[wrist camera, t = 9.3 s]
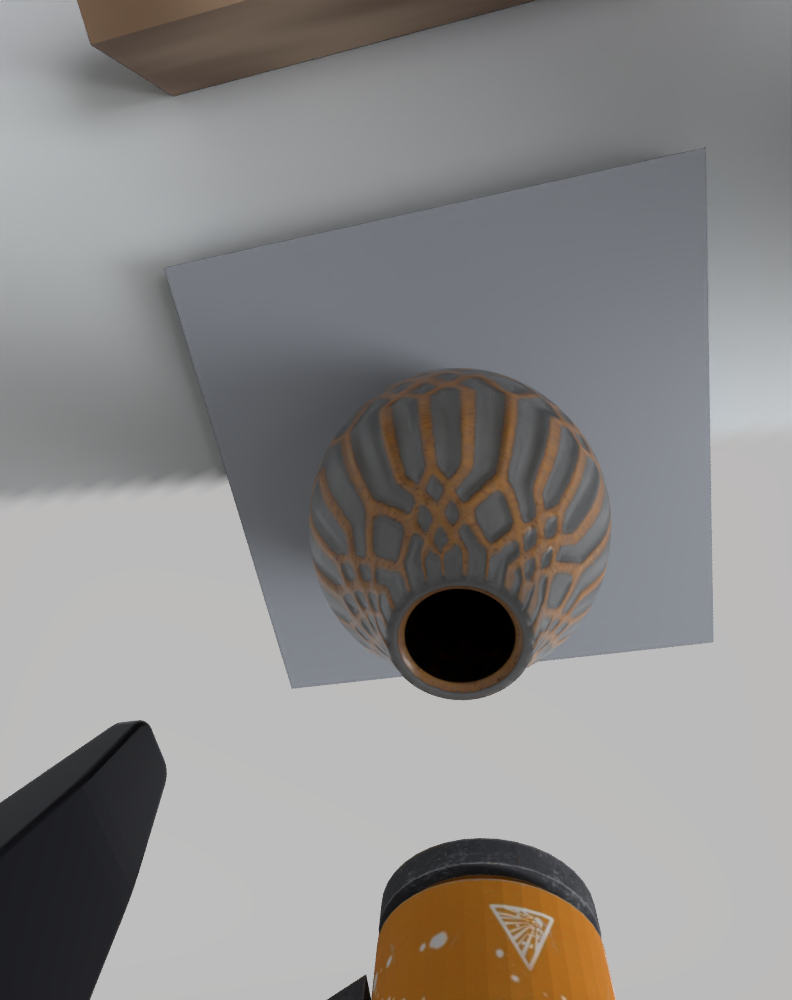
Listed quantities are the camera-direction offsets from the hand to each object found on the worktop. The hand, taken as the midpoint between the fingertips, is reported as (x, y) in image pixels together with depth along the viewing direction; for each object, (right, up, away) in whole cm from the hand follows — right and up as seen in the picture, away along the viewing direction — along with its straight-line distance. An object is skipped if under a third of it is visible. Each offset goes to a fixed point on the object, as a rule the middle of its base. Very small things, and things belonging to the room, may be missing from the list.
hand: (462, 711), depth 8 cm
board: (+1, +4, +11) cm, 12 cm away
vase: (+1, +4, +10) cm, 11 cm away
